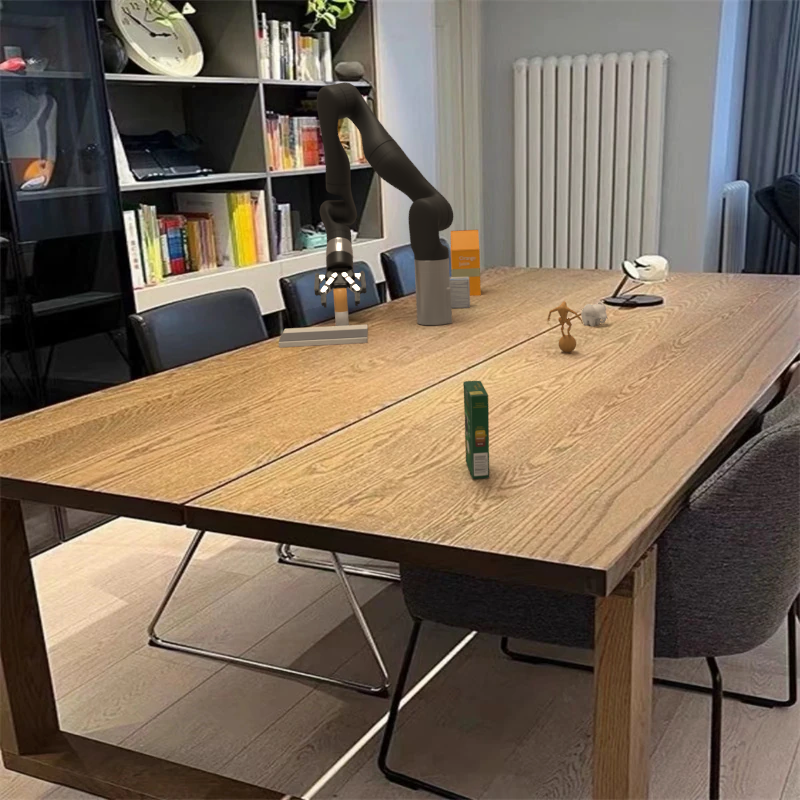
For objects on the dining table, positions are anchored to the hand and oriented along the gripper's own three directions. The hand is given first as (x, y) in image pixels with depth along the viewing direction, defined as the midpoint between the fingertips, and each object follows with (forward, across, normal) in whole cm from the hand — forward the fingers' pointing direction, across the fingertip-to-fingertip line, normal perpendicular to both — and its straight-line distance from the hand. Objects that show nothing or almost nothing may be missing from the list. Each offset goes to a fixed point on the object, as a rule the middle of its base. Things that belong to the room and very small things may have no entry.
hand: (340, 305), depth 262 cm
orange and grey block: (+4, 0, +4) cm, 6 cm away
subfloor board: (+15, -4, -8) cm, 17 cm away
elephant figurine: (+17, +65, -9) cm, 68 cm away
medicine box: (-9, +33, +17) cm, 38 cm away
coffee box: (+91, +24, -83) cm, 126 cm away
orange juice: (-26, +38, +34) cm, 57 cm away
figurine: (+38, +52, -30) cm, 71 cm away
